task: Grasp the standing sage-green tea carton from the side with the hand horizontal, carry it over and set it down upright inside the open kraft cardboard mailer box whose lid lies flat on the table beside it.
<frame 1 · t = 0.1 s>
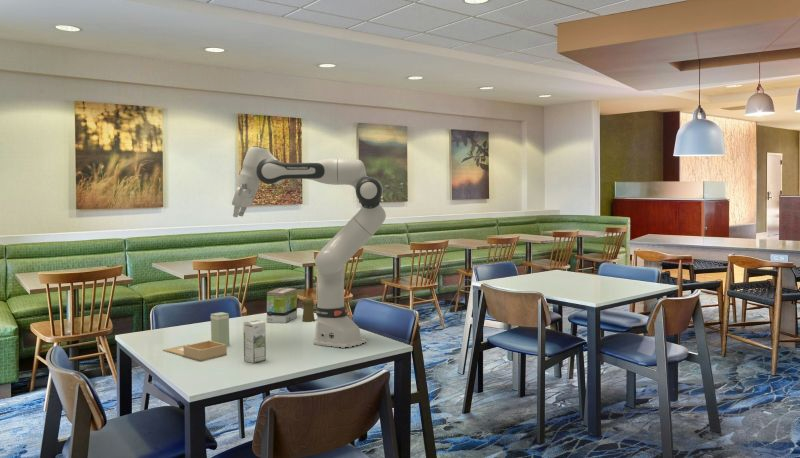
hand: (237, 216, 253), 52 cm above the table, tool tilted 20°, fingers open, 8 cm apart
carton: (220, 345, 249), on the table
mailer: (205, 355, 234), on the table
cork: (308, 321, 297), on the table
syrup box: (255, 361, 226), on the table
tea box: (282, 320, 300), on the table
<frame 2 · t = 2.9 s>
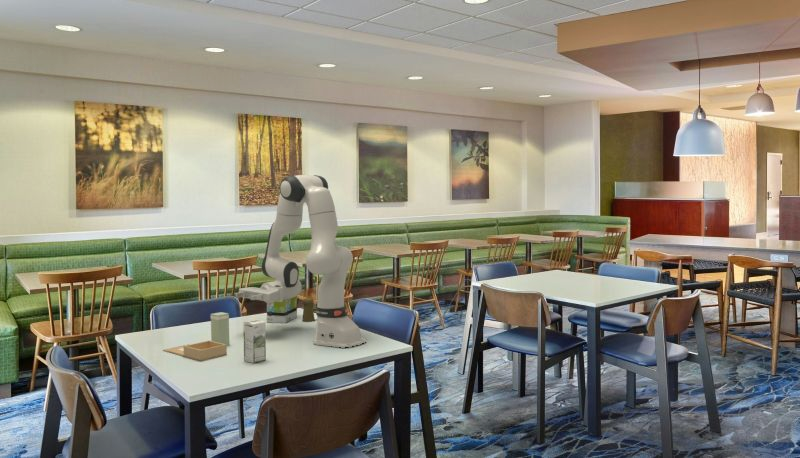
hand: (243, 296, 257), 18 cm above the table, tool horizontal, fingers open, 8 cm apart
nothing on the table moved.
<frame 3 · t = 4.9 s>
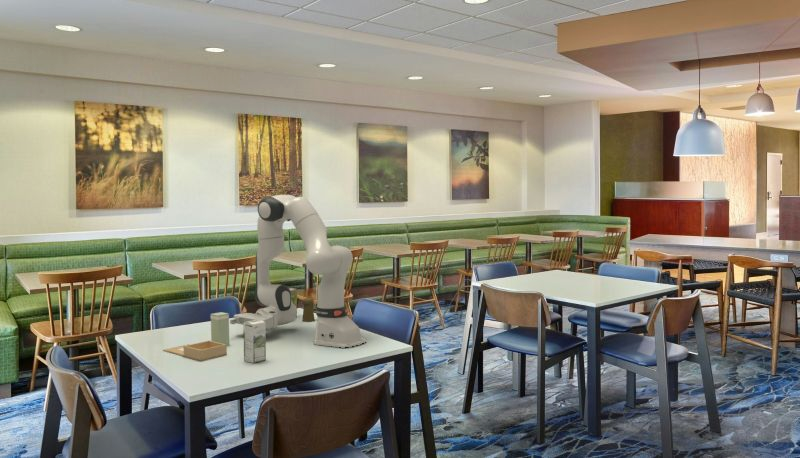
hand: (237, 323, 256), 7 cm above the table, tool horizontal, fingers open, 8 cm apart
nothing on the table moved.
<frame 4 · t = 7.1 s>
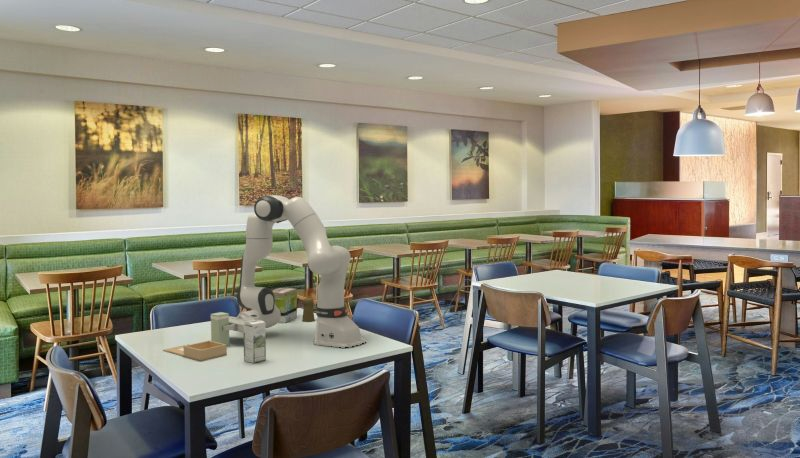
hand: (218, 327, 248), 8 cm above the table, tool horizontal, fingers closed on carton, 5 cm apart
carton: (220, 345, 249), on the table, touching gripper
everything else where it was.
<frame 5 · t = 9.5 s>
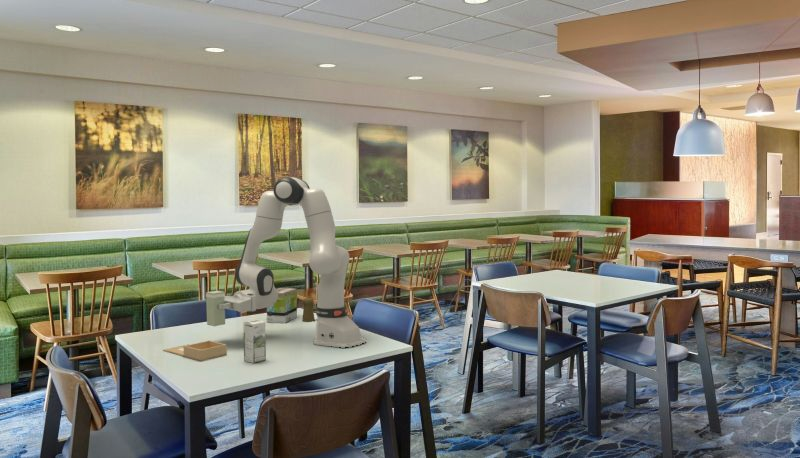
hand: (213, 306, 244), 17 cm above the table, tool horizontal, fingers closed on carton, 5 cm apart
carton: (216, 324, 245), point 9 cm above the table, touching gripper
everything else where it was.
when the fingers open (9 cm above the table, at t = 12.2 s): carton drops 1 cm, resting on mailer.
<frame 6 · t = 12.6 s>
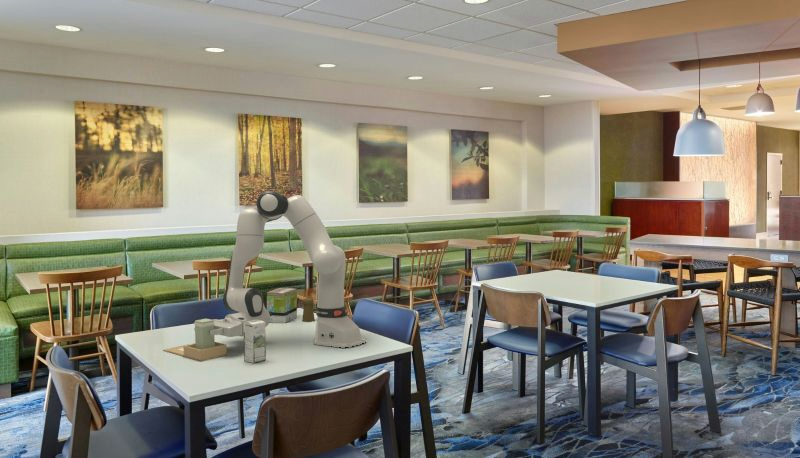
hand: (202, 331, 232), 9 cm above the table, tool horizontal, fingers open, 8 cm apart
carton: (205, 354, 234), resting on mailer
everything else where it was.
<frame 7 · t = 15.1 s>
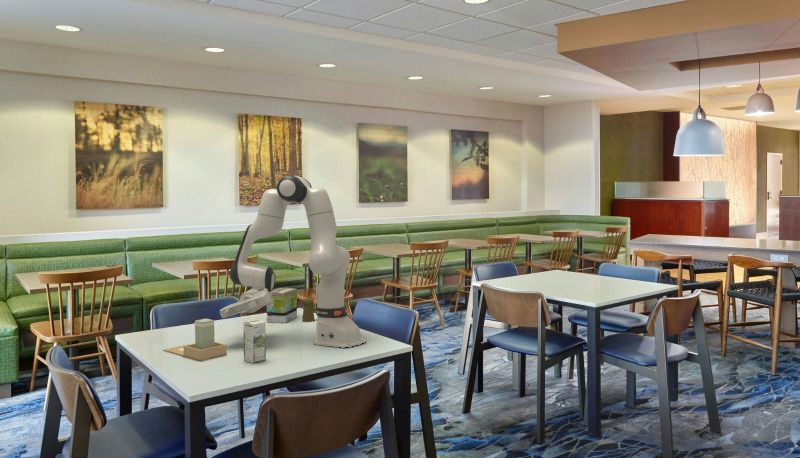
hand: (237, 310, 238), 16 cm above the table, tool horizontal, fingers open, 8 cm apart
nothing on the table moved.
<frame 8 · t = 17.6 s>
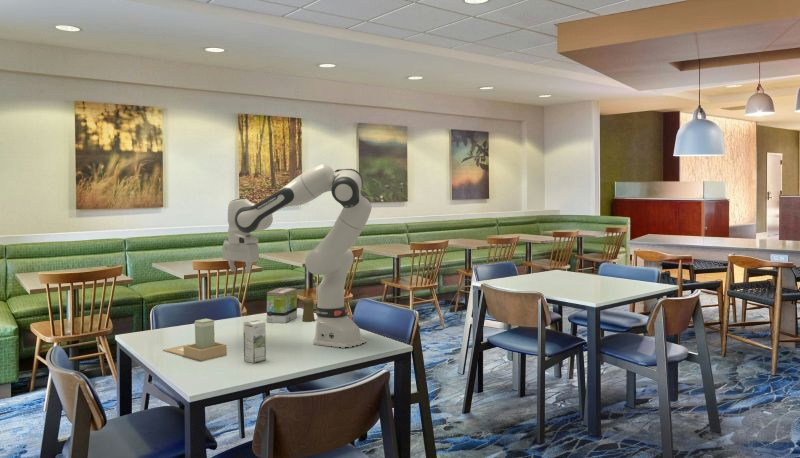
hand: (240, 272, 254), 29 cm above the table, tool pointing down, fingers open, 8 cm apart
nothing on the table moved.
at the end: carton inside the target area on the mailer (0.0 cm from its centre), point 0.5 cm above the mailer's base; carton tilted 0°; the gripper is holding nothing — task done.
